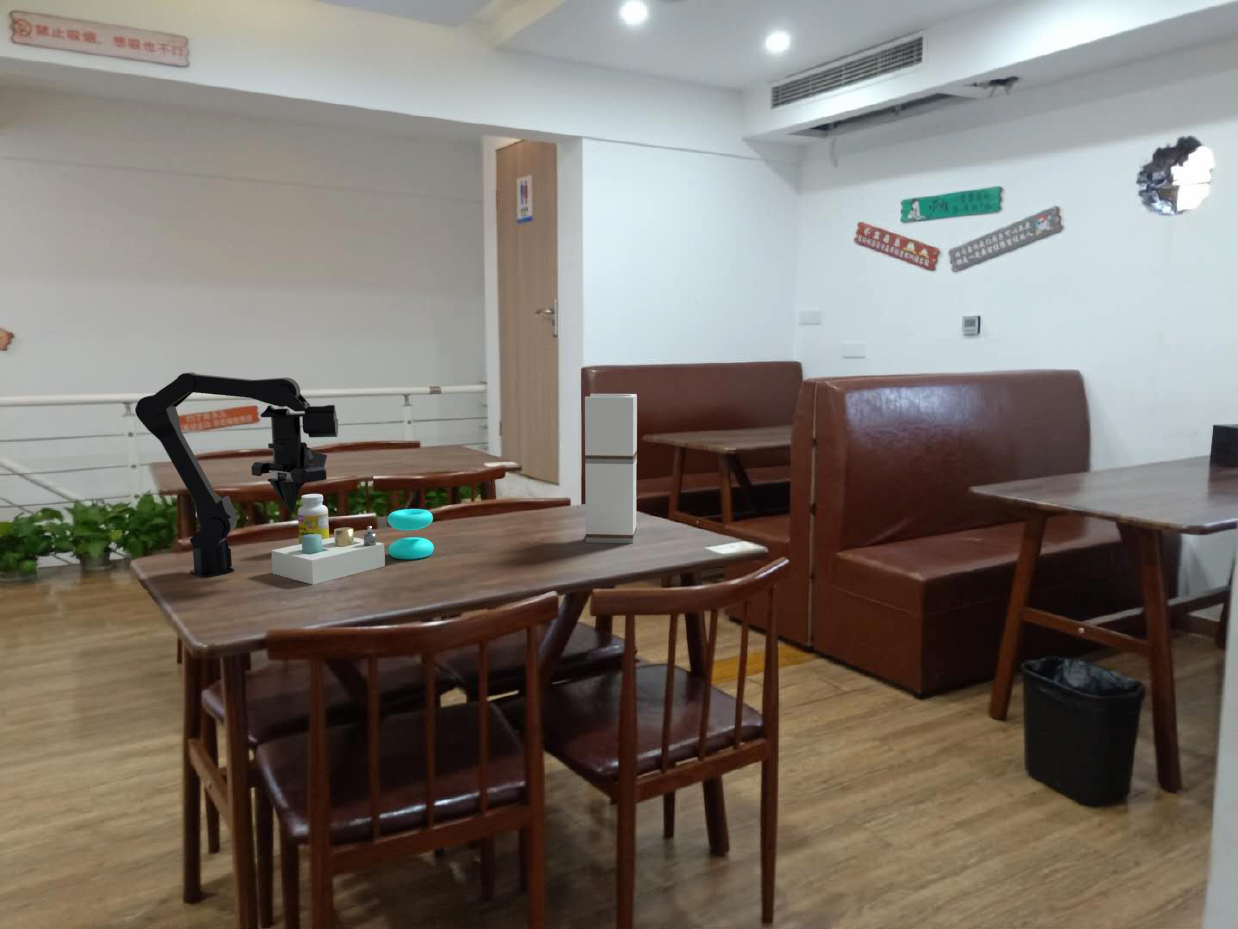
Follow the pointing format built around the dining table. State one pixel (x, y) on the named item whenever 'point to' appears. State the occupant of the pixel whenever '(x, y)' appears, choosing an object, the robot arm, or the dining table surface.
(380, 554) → the mount
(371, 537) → the potentiometer
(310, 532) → the supplement bottle
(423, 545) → the donuts
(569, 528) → the dining table surface
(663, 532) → the dining table surface
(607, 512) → the toy refrigerator
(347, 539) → the brass knob
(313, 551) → the teal cylinder
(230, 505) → the robot arm
